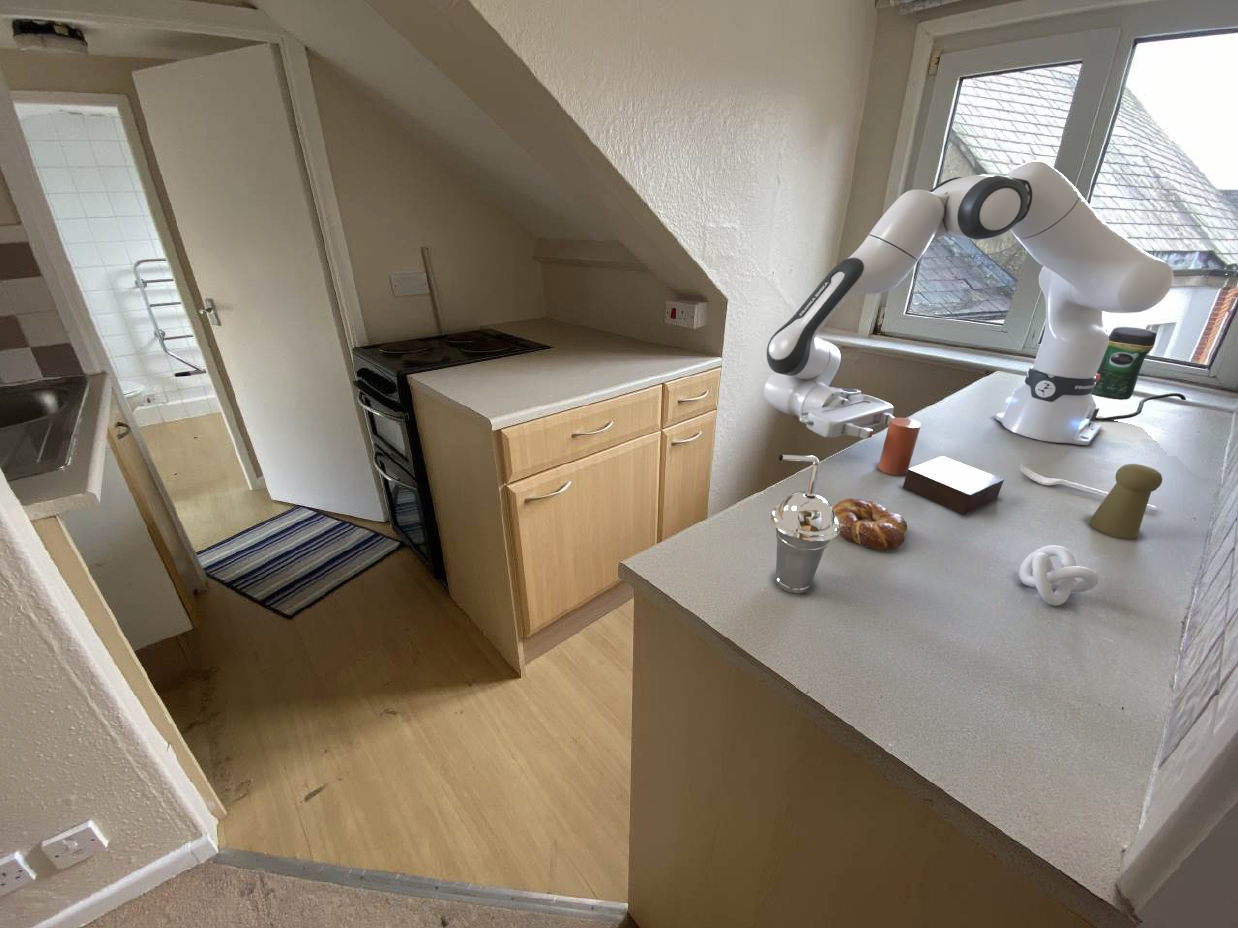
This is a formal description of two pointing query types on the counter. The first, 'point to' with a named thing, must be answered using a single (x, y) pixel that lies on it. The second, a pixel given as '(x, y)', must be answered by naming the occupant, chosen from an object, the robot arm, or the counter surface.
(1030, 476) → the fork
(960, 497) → the stand
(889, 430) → the canister
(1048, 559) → the knot
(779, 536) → the cup with straw
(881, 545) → the pretzel
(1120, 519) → the cork
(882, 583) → the counter surface
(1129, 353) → the coffee jar
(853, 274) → the robot arm
